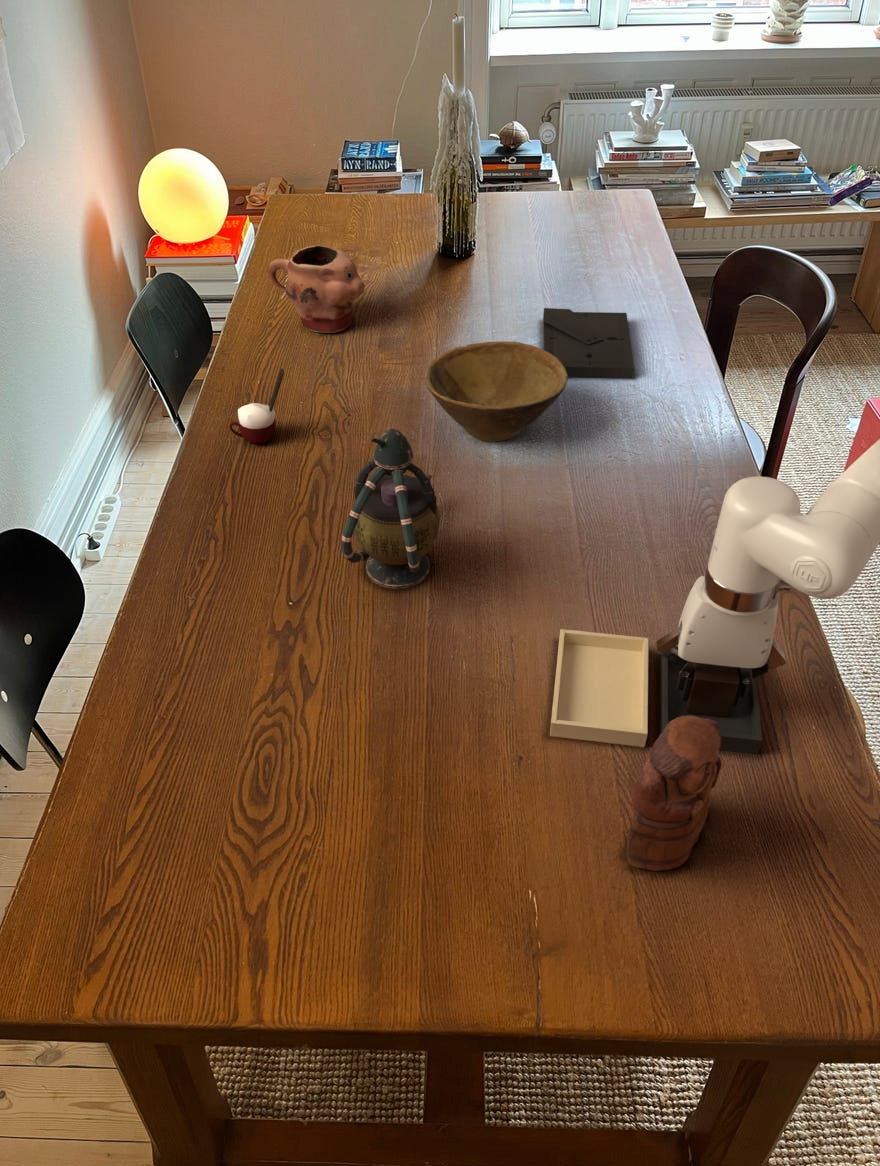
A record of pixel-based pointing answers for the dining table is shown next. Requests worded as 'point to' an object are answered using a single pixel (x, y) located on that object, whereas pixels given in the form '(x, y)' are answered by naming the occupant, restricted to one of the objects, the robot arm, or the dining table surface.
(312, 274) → the sculpted clay mug
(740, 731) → the dark tray
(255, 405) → the cocoa
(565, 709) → the pale tray
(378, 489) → the green octopus jar
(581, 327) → the dark brown flat slab
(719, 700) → the walnut block
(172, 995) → the dining table surface
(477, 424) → the bowl
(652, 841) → the wooden figurine
